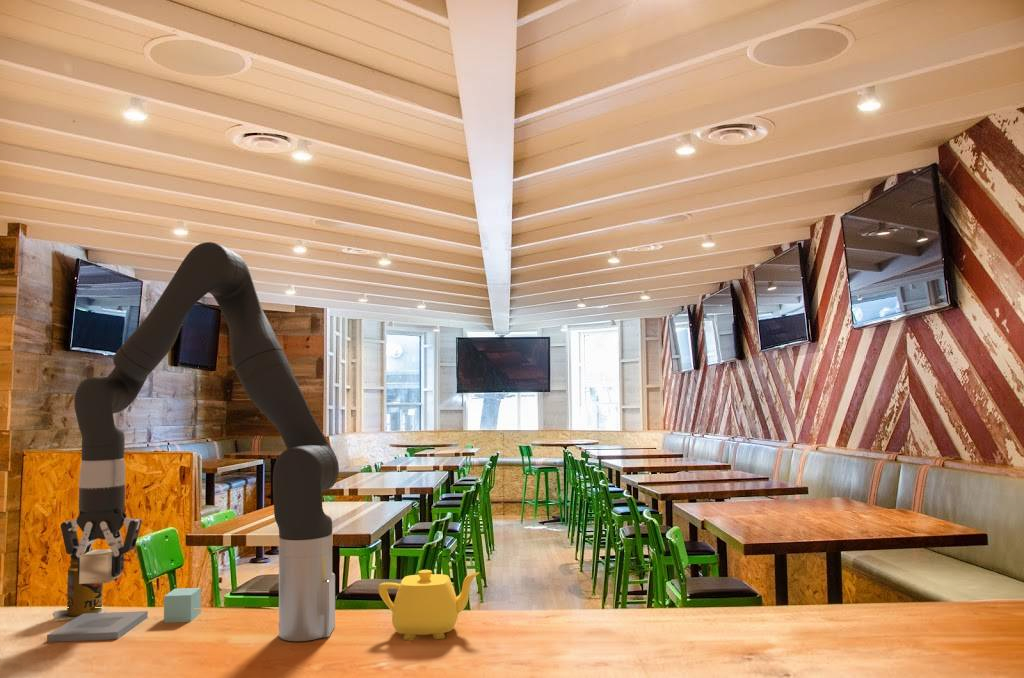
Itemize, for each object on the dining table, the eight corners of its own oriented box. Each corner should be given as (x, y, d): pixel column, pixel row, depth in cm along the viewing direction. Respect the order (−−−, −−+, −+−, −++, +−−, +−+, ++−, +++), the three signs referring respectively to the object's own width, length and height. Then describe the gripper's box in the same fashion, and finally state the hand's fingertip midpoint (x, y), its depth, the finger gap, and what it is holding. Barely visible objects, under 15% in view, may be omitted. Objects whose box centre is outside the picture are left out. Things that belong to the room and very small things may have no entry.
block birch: (120, 575, 136) (121, 548, 136) (107, 582, 131) (108, 554, 131) (93, 576, 136) (94, 549, 136) (79, 583, 131) (79, 555, 131)
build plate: (147, 617, 139) (147, 611, 139) (117, 639, 127) (117, 632, 127) (83, 619, 138) (83, 613, 138) (46, 641, 126) (47, 634, 126)
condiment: (105, 614, 142) (106, 552, 143) (54, 622, 137) (56, 558, 138) (102, 605, 148) (103, 545, 149) (53, 613, 143) (55, 551, 144)
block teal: (200, 613, 141) (201, 587, 142) (191, 622, 136) (191, 595, 137) (174, 614, 141) (174, 588, 141) (163, 623, 136) (164, 596, 136)
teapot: (480, 620, 133) (479, 561, 134) (479, 641, 122) (478, 577, 123) (383, 623, 133) (382, 564, 134) (373, 645, 122) (373, 580, 123)
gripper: (150, 480, 139) (149, 570, 138) (73, 481, 138) (71, 572, 137) (132, 485, 131) (130, 580, 130) (51, 487, 130) (48, 583, 129)
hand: (100, 575), depth 133 cm, fingers closed on block birch, 5 cm apart
